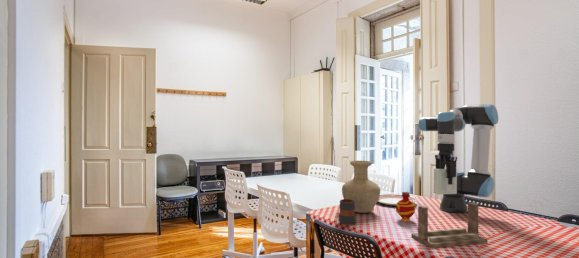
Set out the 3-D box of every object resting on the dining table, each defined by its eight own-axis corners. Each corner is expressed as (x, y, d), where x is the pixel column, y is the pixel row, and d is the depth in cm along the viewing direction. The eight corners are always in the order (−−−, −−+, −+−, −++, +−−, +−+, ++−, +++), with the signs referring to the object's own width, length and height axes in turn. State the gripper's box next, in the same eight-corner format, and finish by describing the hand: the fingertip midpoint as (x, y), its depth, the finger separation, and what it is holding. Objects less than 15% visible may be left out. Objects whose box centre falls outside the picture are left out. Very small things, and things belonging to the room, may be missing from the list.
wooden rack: (463, 232, 155) (463, 200, 155) (487, 242, 142) (487, 207, 141) (411, 236, 149) (411, 203, 149) (431, 247, 135) (431, 210, 135)
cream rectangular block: (451, 192, 164) (451, 168, 164) (457, 194, 160) (457, 169, 160) (433, 192, 162) (433, 168, 162) (439, 194, 158) (439, 169, 158)
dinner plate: (411, 210, 198) (411, 204, 198) (368, 204, 212) (368, 199, 212) (420, 201, 221) (420, 196, 221) (380, 197, 236) (380, 192, 236)
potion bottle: (417, 223, 170) (417, 194, 170) (396, 222, 172) (397, 194, 172) (414, 217, 180) (414, 191, 180) (394, 216, 182) (394, 190, 182)
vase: (383, 209, 199) (383, 160, 199) (375, 218, 179) (375, 164, 179) (348, 205, 209) (348, 159, 209) (336, 213, 189) (336, 162, 189)
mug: (357, 219, 177) (357, 198, 177) (353, 225, 166) (353, 203, 166) (342, 218, 180) (342, 197, 180) (337, 224, 169) (337, 201, 169)
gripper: (428, 142, 169) (427, 187, 168) (451, 143, 152) (450, 193, 151) (440, 142, 170) (440, 186, 170) (465, 143, 153) (464, 193, 153)
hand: (445, 190), depth 161 cm, fingers closed on cream rectangular block, 4 cm apart
